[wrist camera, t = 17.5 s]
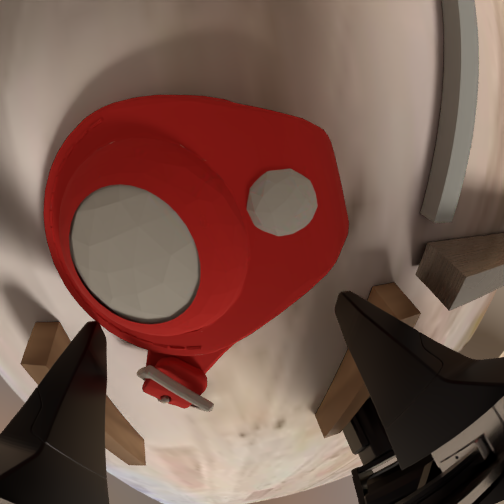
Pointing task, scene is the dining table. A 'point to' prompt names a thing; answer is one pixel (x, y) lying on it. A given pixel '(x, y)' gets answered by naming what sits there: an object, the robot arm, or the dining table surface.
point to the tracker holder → (191, 226)
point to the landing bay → (454, 111)
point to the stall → (328, 415)
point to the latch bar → (463, 268)
